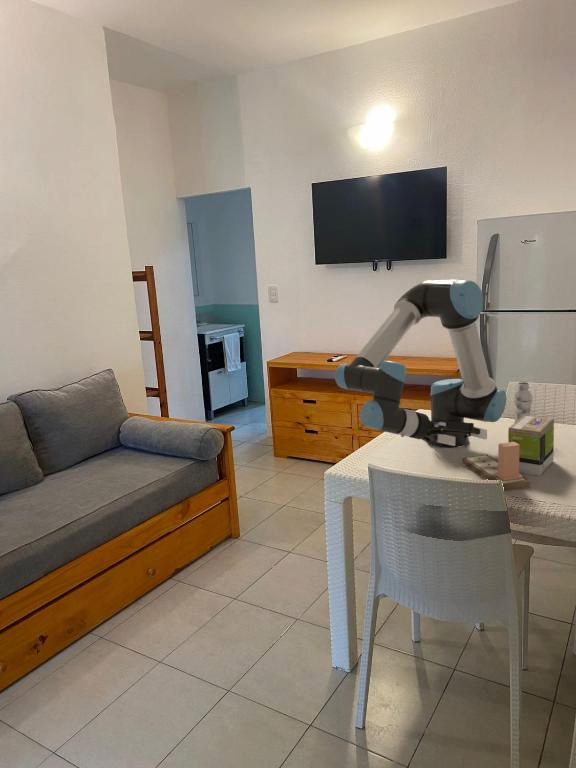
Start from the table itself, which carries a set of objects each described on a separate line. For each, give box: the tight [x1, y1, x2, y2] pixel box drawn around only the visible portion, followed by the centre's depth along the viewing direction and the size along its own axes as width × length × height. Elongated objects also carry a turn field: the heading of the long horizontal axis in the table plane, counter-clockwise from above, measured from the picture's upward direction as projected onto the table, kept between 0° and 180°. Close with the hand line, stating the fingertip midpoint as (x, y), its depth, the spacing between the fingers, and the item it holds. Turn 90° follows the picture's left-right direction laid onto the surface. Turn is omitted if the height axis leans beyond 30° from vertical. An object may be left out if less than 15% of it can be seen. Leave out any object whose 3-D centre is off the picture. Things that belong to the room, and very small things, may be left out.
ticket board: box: [461, 453, 531, 492], centre depth 181 cm, size 24×9×2 cm, turn 11°
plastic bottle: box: [513, 381, 533, 424], centre depth 213 cm, size 6×7×20 cm
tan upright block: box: [495, 442, 523, 480], centre depth 172 cm, size 5×6×10 cm
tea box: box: [507, 415, 555, 477], centre depth 184 cm, size 15×10×15 cm, turn 141°
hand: (469, 438), depth 173 cm, fingers open, 13 cm apart
